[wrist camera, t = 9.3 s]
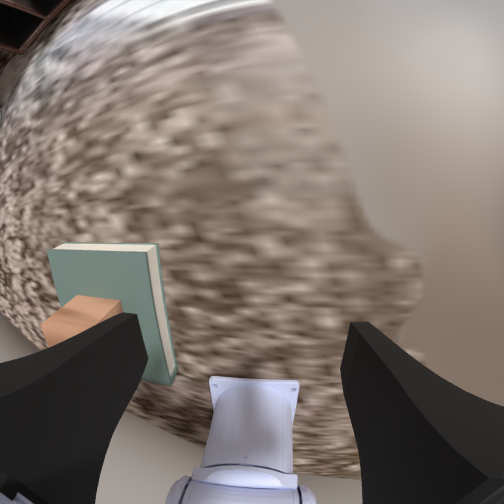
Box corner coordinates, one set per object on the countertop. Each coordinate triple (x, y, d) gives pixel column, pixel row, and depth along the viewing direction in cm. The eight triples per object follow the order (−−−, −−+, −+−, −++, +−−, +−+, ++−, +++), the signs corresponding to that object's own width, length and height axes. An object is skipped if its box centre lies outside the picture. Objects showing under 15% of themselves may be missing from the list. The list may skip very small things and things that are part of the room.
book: (179, 367, 23) (171, 385, 21) (93, 350, 24) (82, 364, 21) (159, 242, 19) (145, 253, 17) (64, 241, 20) (47, 250, 18)
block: (132, 348, 20) (105, 388, 15) (91, 339, 20) (61, 373, 15) (120, 300, 18) (84, 336, 13) (77, 294, 18) (40, 325, 14)
